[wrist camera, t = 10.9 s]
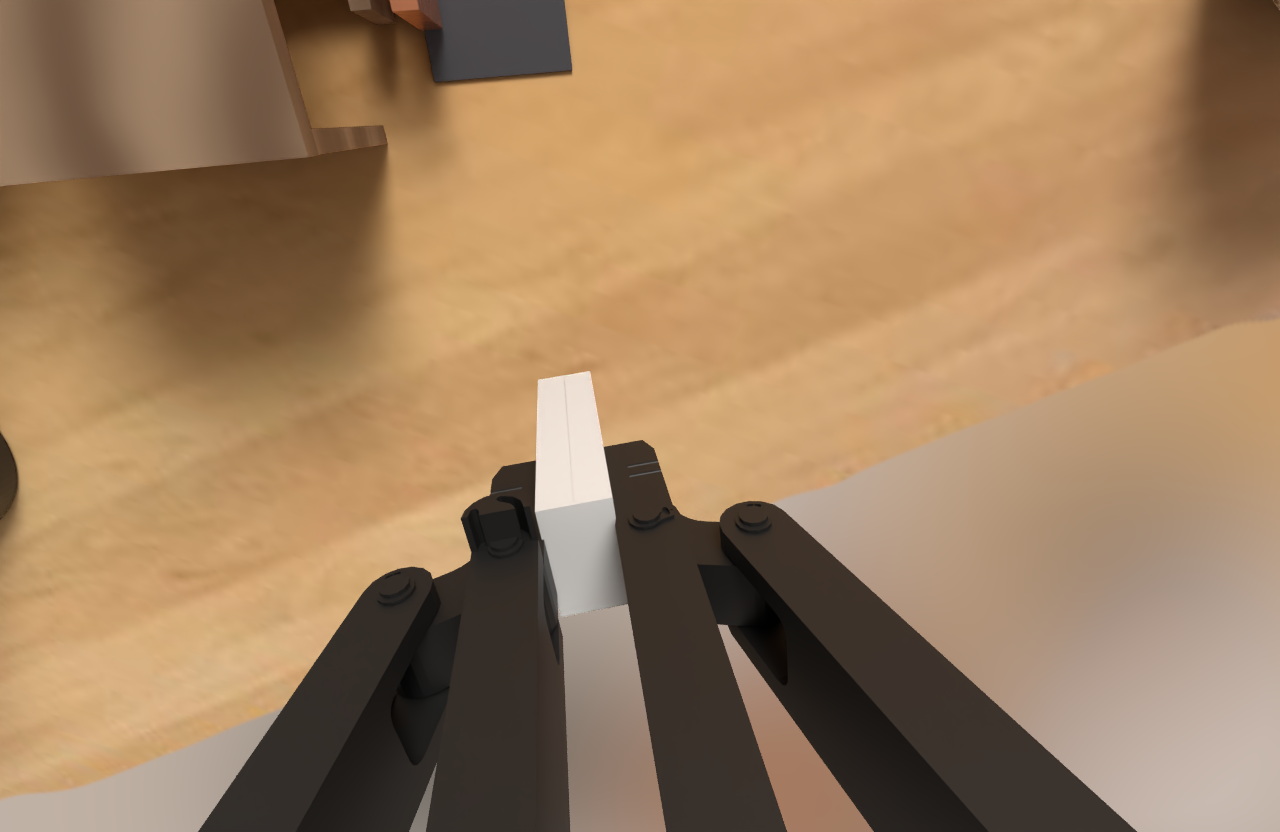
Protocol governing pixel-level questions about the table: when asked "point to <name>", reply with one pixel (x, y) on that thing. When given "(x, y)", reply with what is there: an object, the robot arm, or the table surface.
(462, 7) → the pad
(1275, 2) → the planter
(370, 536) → the table surface
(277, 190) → the table surface
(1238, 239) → the table surface
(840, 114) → the table surface
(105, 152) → the tunnel
